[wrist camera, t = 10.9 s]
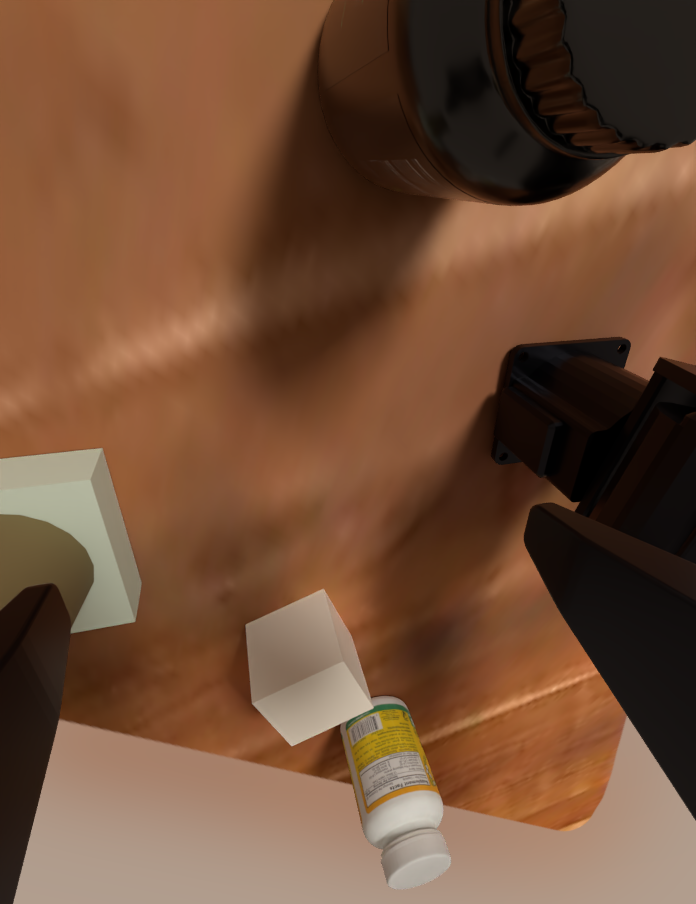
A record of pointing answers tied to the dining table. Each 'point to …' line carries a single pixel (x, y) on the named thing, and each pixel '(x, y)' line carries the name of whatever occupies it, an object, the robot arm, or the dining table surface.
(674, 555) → the robot arm
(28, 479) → the base brick
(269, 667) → the brick
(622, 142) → the supplement bottle
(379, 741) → the supplement bottle
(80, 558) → the cork
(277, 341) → the dining table surface
